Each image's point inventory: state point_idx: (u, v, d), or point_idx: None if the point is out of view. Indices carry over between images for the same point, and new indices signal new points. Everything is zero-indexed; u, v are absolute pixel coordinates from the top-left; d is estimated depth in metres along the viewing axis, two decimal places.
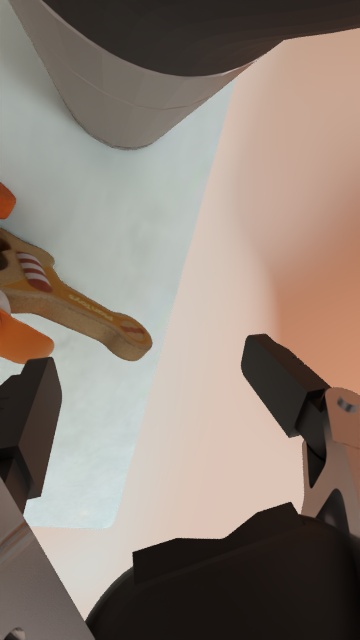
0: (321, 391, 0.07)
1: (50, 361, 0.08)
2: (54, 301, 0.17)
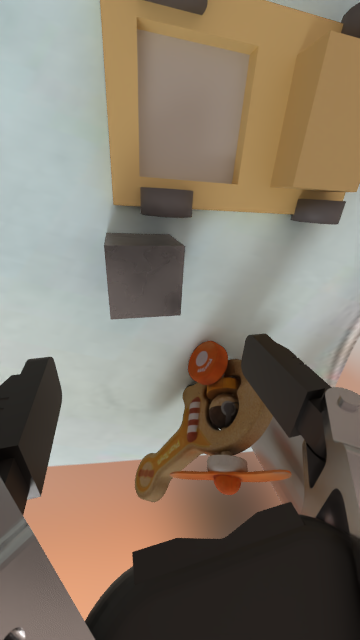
0: (321, 391, 0.07)
1: (50, 361, 0.08)
2: (198, 455, 0.26)
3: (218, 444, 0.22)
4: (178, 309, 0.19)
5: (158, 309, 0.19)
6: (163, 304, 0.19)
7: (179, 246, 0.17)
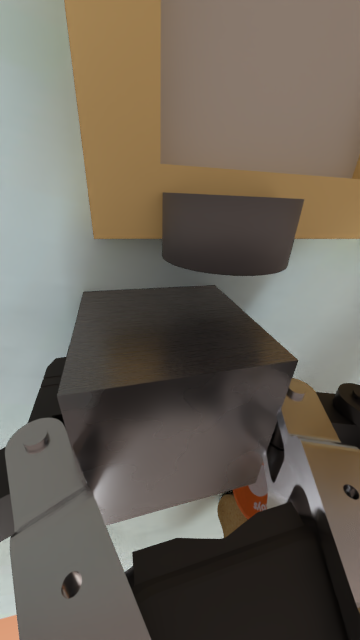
0: None
1: None
2: None
3: None
4: (254, 476, 0.08)
5: (209, 486, 0.08)
6: (222, 477, 0.08)
7: (282, 361, 0.06)
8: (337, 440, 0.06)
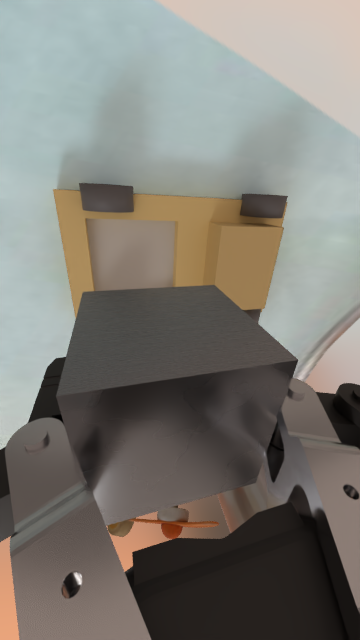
0: None
1: None
2: None
3: None
4: (254, 476, 0.08)
5: (209, 486, 0.08)
6: (222, 477, 0.08)
7: (282, 361, 0.06)
8: (337, 440, 0.06)
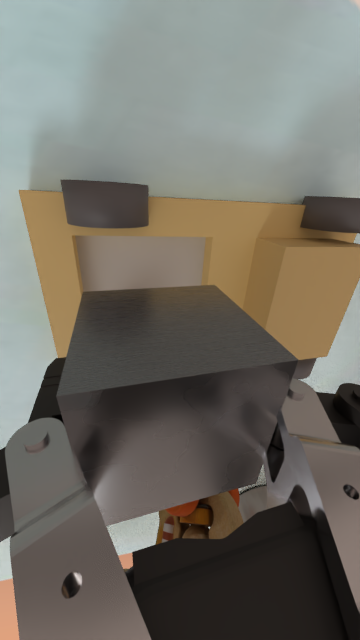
0: None
1: None
2: None
3: None
4: (254, 476, 0.08)
5: (210, 486, 0.08)
6: (222, 477, 0.08)
7: (283, 361, 0.06)
8: (337, 440, 0.06)
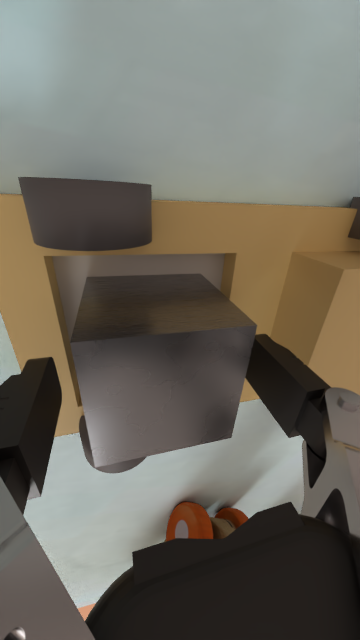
0: (321, 391, 0.07)
1: (50, 361, 0.08)
2: None
3: None
4: (229, 430, 0.10)
5: (191, 436, 0.09)
6: (201, 428, 0.09)
7: (245, 326, 0.07)
8: None
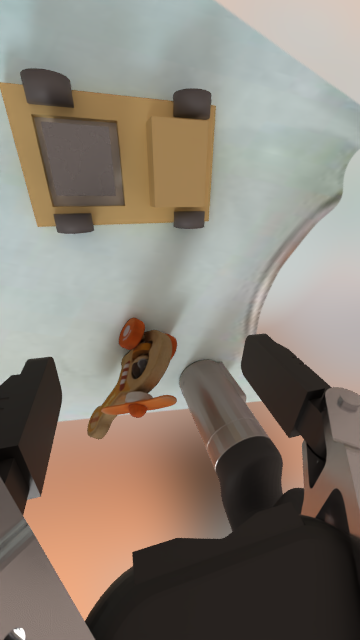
0: (321, 391, 0.07)
1: (50, 361, 0.08)
2: None
3: (134, 387, 0.32)
4: (113, 190, 0.24)
5: (96, 188, 0.23)
6: (99, 184, 0.23)
7: (104, 127, 0.21)
8: None
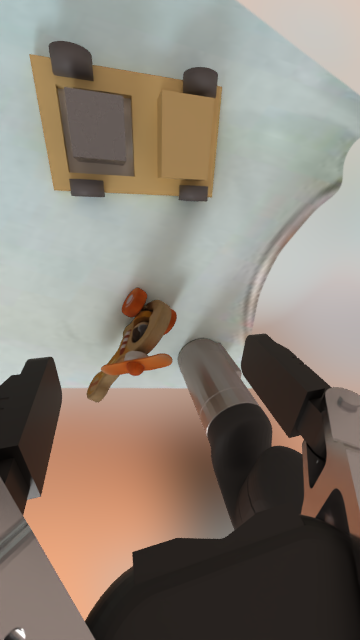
0: (321, 391, 0.07)
1: (50, 361, 0.08)
2: None
3: (133, 349, 0.34)
4: (124, 155, 0.26)
5: (108, 152, 0.26)
6: (112, 149, 0.26)
7: (119, 96, 0.24)
8: None
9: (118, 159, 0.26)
